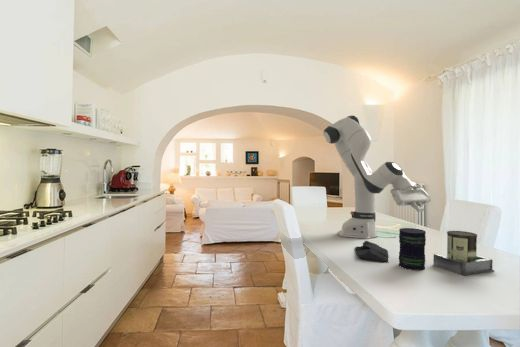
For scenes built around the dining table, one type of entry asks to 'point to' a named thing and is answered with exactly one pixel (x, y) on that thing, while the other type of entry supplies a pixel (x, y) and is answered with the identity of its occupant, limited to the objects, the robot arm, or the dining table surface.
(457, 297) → the dining table surface
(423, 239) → the storage jar
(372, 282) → the dining table surface
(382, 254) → the dark slate chunk
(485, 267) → the receiver bay
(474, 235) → the coffee can
